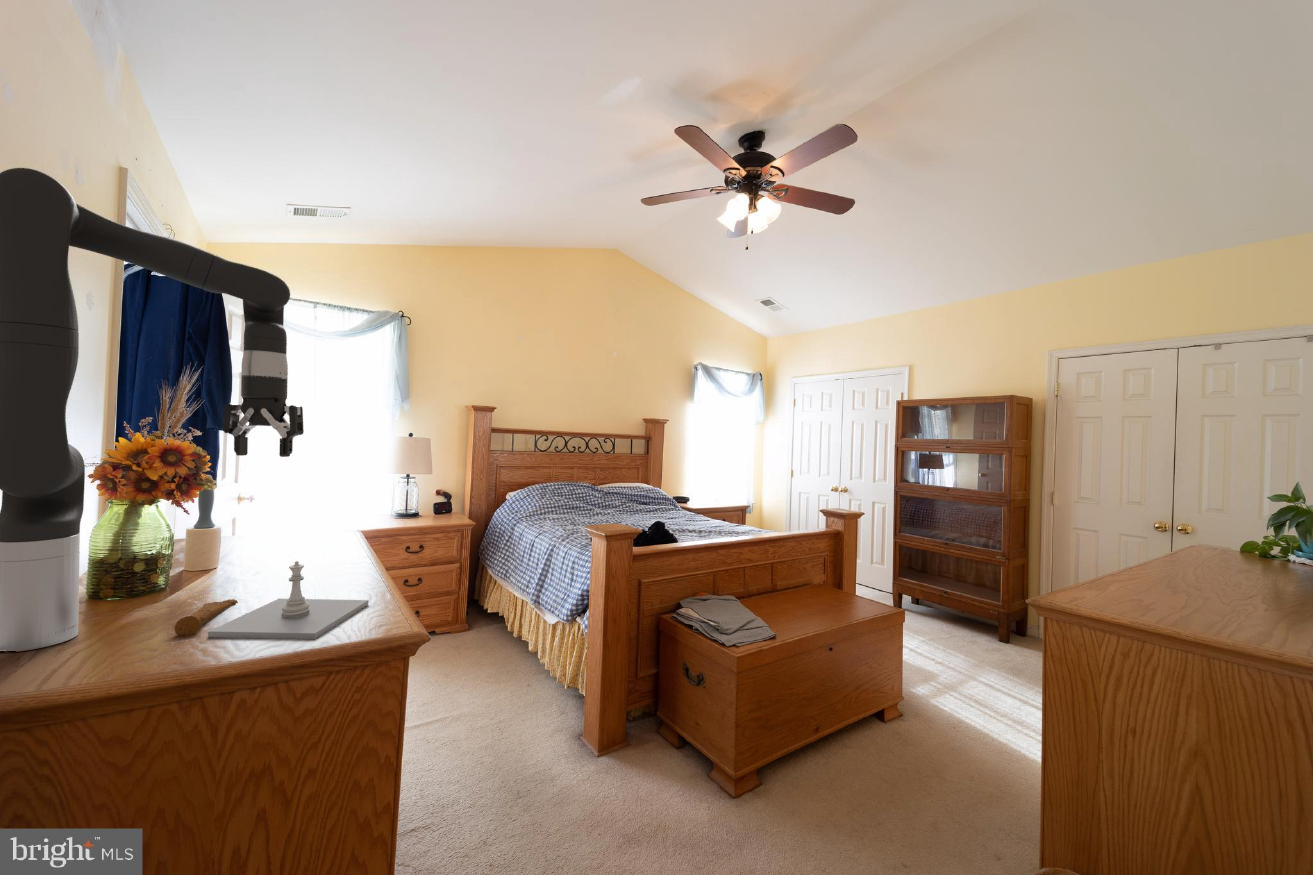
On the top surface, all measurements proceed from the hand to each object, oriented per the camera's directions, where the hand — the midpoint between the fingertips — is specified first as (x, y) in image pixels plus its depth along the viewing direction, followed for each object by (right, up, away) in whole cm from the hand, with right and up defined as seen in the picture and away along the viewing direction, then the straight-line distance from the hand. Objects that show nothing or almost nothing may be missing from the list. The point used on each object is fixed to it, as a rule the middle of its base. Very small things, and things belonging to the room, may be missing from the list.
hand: (263, 456), depth 108 cm
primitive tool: (-6, -31, -7) cm, 32 cm away
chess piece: (+11, -30, -7) cm, 33 cm away
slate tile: (+11, -31, -7) cm, 33 cm away
